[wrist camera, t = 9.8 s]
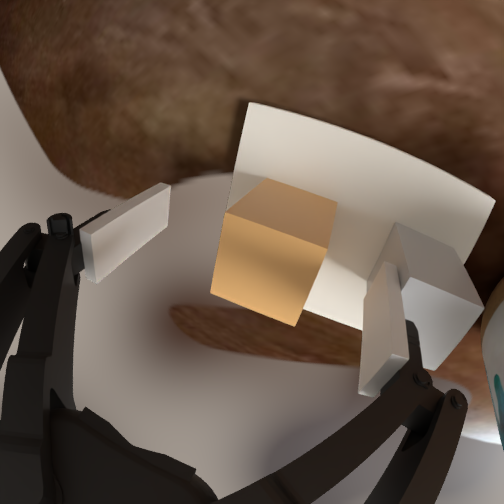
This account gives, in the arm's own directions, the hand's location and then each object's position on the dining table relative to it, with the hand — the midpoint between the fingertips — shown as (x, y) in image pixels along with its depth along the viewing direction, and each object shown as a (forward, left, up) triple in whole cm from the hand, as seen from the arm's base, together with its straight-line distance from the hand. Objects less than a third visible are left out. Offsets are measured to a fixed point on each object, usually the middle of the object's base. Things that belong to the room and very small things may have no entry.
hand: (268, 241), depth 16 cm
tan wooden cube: (0, -1, -5) cm, 5 cm away
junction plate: (+5, 0, -6) cm, 8 cm away
